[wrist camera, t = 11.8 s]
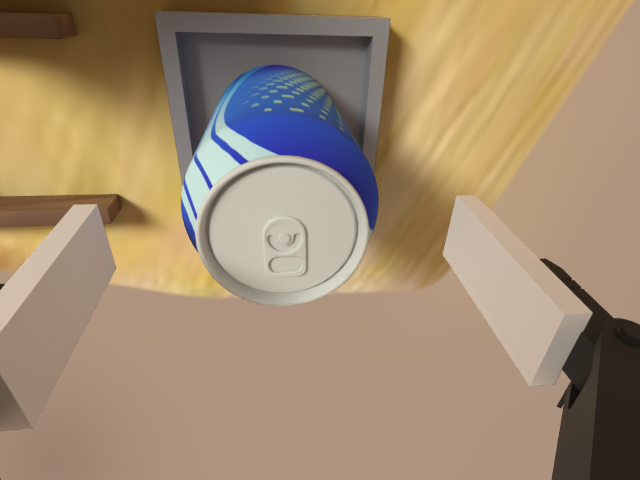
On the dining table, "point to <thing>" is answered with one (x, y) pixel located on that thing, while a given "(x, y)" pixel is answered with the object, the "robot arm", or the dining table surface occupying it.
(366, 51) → the tray
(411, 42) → the dining table surface
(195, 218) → the beer can
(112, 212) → the frame
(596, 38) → the dining table surface
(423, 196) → the dining table surface
